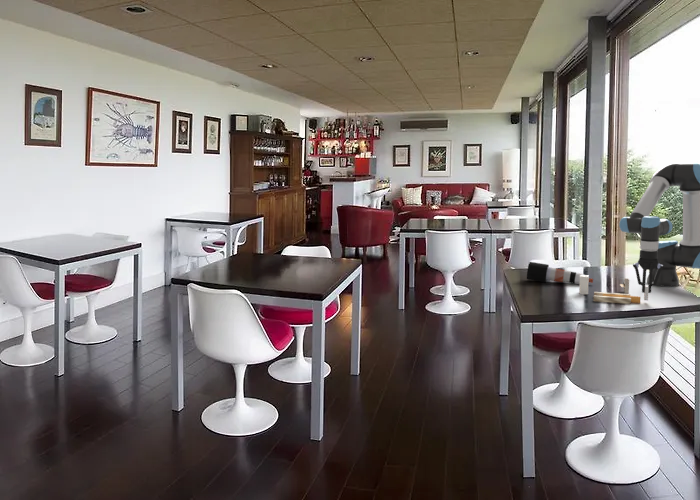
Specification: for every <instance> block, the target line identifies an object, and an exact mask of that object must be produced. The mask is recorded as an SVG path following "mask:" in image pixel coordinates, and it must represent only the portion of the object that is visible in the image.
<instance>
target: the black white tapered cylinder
mask: <svg viewBox="0 0 700 500" xmlns="http://www.w3.org/2000/svg"><path fill="white" fill-rule="evenodd" d="M580 275H584V273H583V272H582V273H581V272H576V271H571V270H565V269H560V268H556V267H551V266H550V265H549V264H547V263H542V262H541V263H540V262H534V261H529V263H528V267H527V272H526V280H529V281H535V282H540V283H546V282H547V281H549V282H550V281H552V282H557V283H558V282H559V283H567V284H574V285H575V284H576V285H580ZM589 283H594V278H592V277H591V278H590V277H589Z"/></svg>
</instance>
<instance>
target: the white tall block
mask: <svg viewBox="0 0 700 500" xmlns="http://www.w3.org/2000/svg"><path fill="white" fill-rule="evenodd" d="M589 278H590V275H589V274H588V275H587V274H583V275H580V284H579V289H578V290H579V291H578V292H579V295H589V283H590V282H589Z"/></svg>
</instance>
